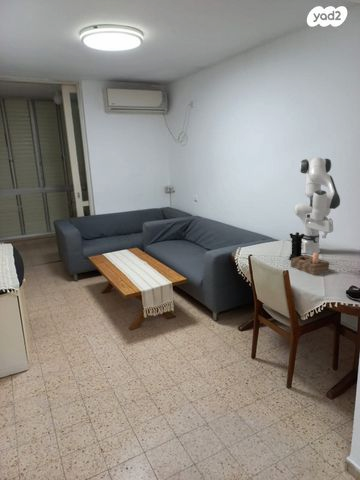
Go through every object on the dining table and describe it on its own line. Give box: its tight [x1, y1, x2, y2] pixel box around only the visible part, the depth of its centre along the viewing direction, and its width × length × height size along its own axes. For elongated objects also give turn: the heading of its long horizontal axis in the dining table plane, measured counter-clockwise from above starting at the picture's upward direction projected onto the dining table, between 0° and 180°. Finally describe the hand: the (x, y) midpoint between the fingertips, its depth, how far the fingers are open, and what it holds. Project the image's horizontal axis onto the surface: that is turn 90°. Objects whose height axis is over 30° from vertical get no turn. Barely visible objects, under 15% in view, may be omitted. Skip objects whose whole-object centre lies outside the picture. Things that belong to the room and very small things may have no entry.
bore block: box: [290, 254, 330, 276], centre depth 226 cm, size 20×14×6 cm
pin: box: [312, 253, 320, 264], centre depth 220 cm, size 4×4×10 cm
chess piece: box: [287, 231, 304, 261], centre depth 242 cm, size 8×8×20 cm
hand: (318, 236), depth 217 cm, fingers open, 8 cm apart
